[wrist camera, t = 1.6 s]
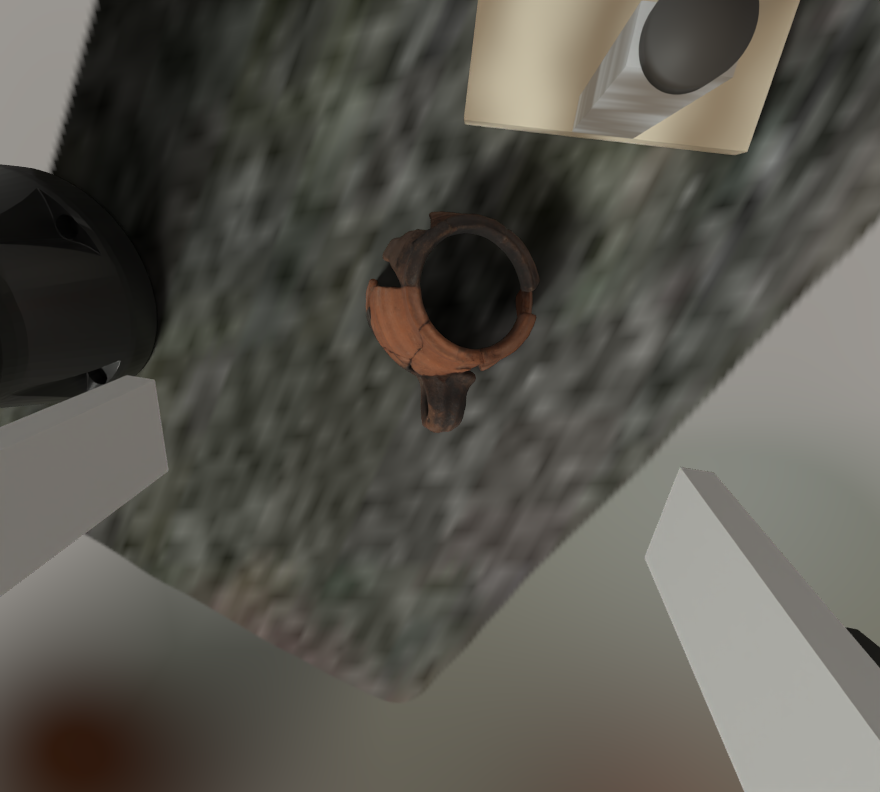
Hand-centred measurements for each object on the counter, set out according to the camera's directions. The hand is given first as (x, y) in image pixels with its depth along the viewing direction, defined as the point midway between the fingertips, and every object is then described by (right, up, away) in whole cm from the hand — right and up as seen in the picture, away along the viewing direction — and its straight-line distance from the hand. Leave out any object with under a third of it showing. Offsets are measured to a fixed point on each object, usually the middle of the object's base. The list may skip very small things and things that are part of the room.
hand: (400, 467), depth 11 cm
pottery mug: (+2, +7, +17) cm, 18 cm away
